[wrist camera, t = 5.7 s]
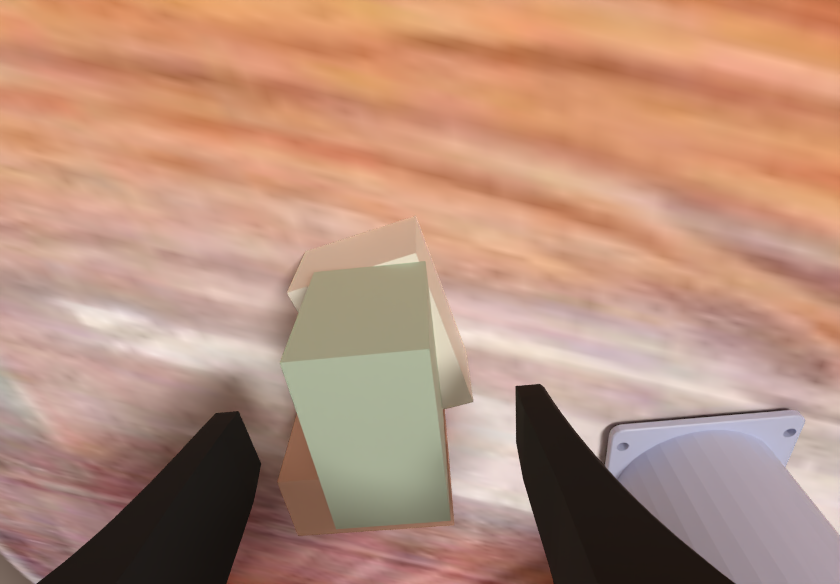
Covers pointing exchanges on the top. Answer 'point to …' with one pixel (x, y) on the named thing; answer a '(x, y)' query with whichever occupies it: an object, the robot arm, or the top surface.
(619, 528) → the robot arm
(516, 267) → the top surface
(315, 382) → the green brick
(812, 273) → the top surface
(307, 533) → the terracotta brick
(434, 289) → the cream brick
